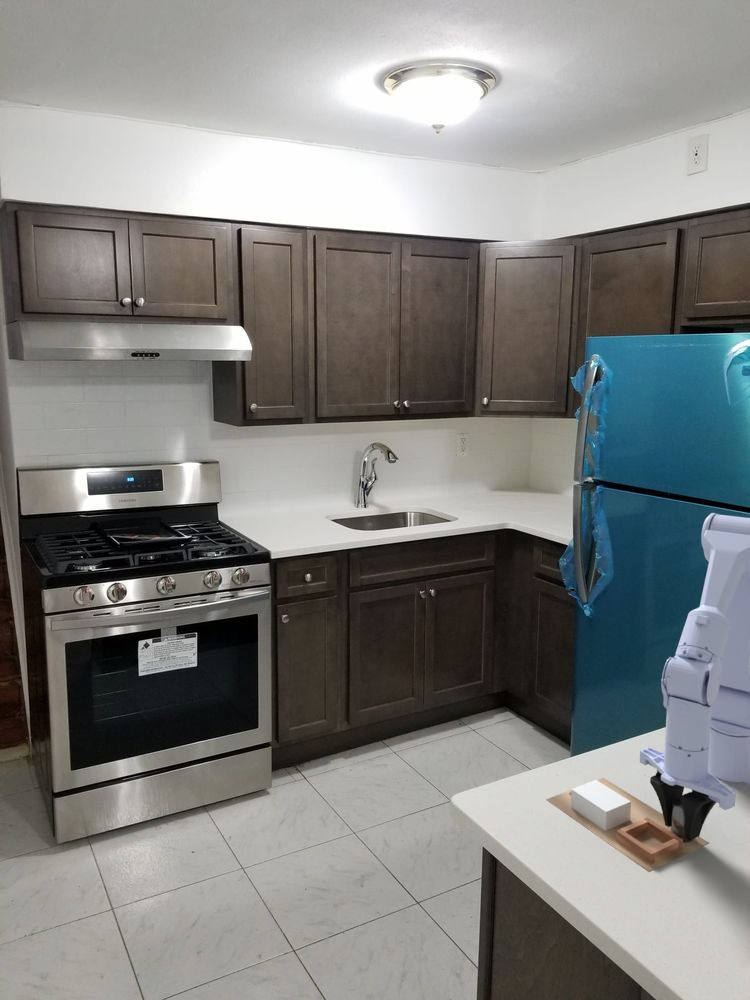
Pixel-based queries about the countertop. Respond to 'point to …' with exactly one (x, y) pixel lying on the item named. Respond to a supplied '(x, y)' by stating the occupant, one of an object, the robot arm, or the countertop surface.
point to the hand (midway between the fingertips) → (682, 830)
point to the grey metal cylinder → (678, 819)
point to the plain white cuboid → (600, 804)
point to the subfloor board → (635, 832)
